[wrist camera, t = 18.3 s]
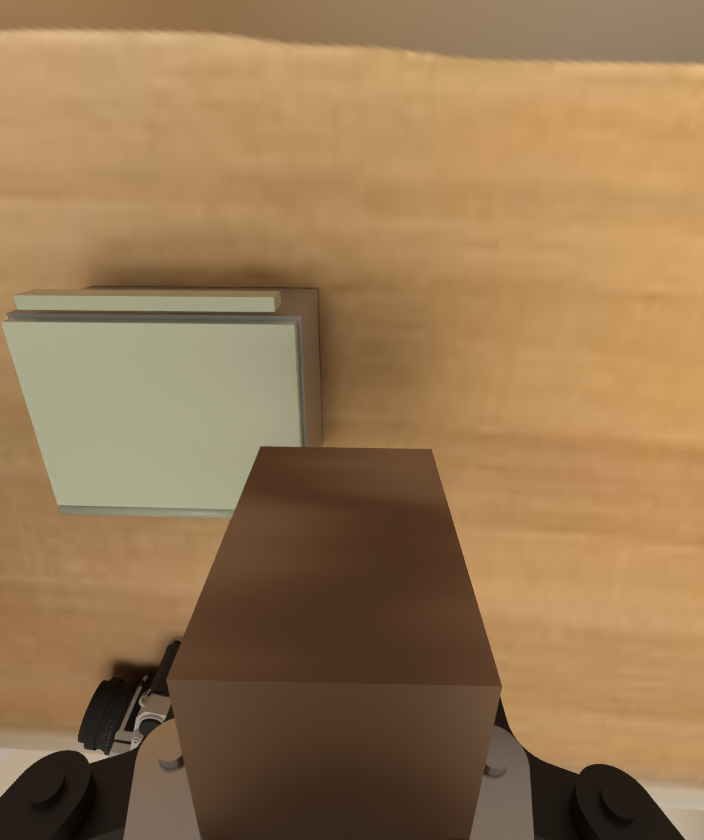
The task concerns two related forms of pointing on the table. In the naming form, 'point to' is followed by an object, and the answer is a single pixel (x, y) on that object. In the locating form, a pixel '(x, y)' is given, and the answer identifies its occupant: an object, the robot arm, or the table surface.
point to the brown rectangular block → (336, 657)
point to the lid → (155, 398)
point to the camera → (127, 709)
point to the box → (293, 308)
